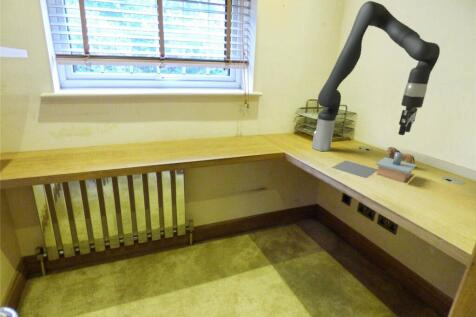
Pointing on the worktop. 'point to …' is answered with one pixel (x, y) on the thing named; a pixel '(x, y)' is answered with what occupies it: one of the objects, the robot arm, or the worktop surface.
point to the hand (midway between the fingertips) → (404, 133)
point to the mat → (355, 169)
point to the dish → (392, 174)
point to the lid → (396, 163)
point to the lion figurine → (408, 157)
